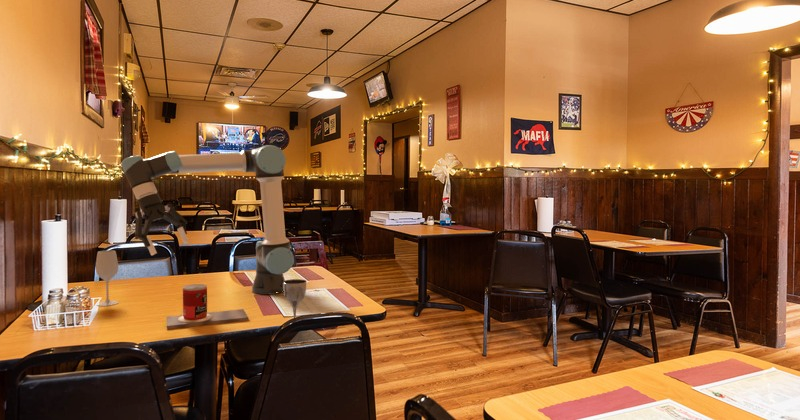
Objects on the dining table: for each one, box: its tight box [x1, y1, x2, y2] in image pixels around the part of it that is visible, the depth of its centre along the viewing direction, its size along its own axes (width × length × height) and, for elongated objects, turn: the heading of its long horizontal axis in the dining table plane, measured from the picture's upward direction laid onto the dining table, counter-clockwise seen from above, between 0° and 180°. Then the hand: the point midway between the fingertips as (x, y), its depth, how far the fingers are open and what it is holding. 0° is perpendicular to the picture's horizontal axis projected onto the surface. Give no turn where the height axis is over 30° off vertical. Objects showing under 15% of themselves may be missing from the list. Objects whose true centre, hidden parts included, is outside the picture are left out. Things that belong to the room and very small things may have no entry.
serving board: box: [166, 308, 249, 330], centre depth 168 cm, size 26×12×2 cm, turn 116°
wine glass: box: [283, 278, 307, 319], centre depth 165 cm, size 8×8×15 cm
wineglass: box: [95, 249, 119, 307], centre depth 188 cm, size 8×8×21 cm
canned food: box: [182, 283, 208, 320], centre depth 166 cm, size 8×8×11 cm
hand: (170, 248), depth 177 cm, fingers open, 13 cm apart
